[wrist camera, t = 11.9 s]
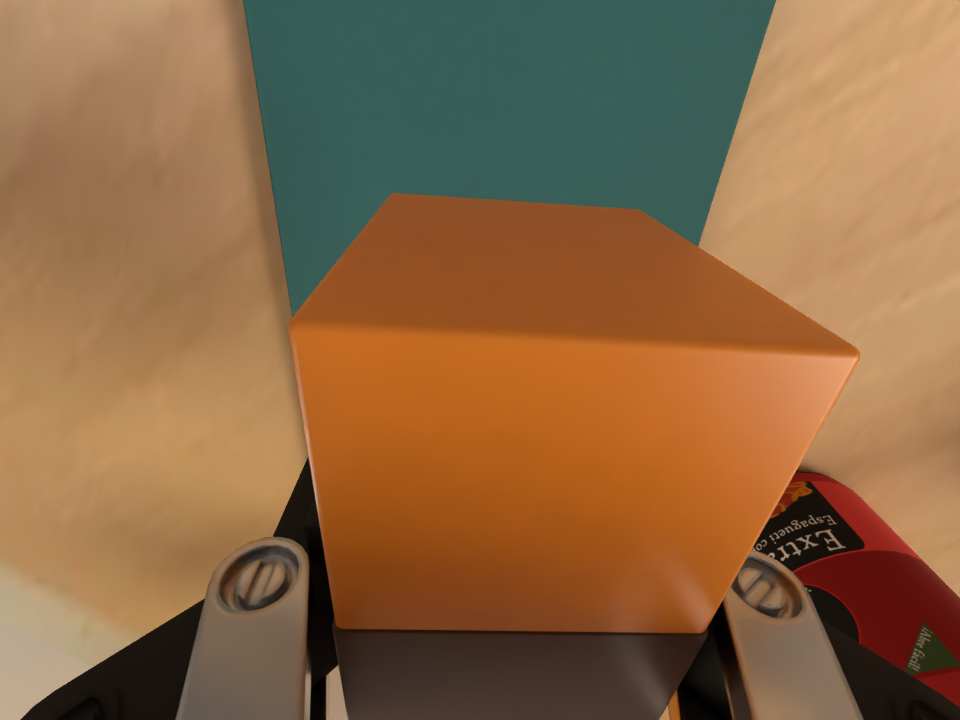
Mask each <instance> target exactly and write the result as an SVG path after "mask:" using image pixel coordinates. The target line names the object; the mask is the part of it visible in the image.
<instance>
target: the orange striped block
mask: <svg viewBox="0 0 960 720" xmlns="http://www.w3.org/2000/svg"><path fill="white" fill-rule="evenodd" d="M288 331H289V337H290V344H291V350H292V356H293V362H294V368H295V375H296V381H297V387H298V393H299V399H300V406H301V412H302V418H303V424H304V430H305V437H306V443H307V449H308V455H309V461H310V468H311V474H312V480H313V486H314V493H315V499H316V505H317V511H318V517H319V524H320V530H321V536H322V542H323V548H324V555H325V561H326V567H327V573H328V579H329V586H330V592H331V598H332V604H333V610H334V621H333V624H332V630H333V636H334V642H335V648H336V654H337V660H338V666H339V672H340V678H341V683H342V689H343V695H344V701H345V707H346V713H347V719H348V720H659V719H660V717H661V716H662V714H663V712H664V710H665V709H666V707H667V705H668V703H669V702H670V700H671V698H672V697H673V695H674V693H675V691H676V690H677V688H678V686H679V684H680V683H681V681H682V679H683V678H684V676H685V674H686V672H687V671H688V669H689V667H690V666H691V664H692V662H693V660H694V659H695V657H696V655H697V653H698V652H699V650H700V648H701V647H702V645H703V643H704V641H705V640H706V638H707V636H708V630H707V627H708V625H709V623H710V622H711V620H712V618H713V616H714V614H715V613H716V611H717V609H718V607H719V606H720V604H721V602H722V600H723V599H724V597H725V595H726V593H727V592H728V590H729V588H730V586H731V585H732V583H733V581H734V579H735V578H736V576H737V574H738V572H739V571H740V569H741V567H742V565H743V564H744V562H745V560H746V558H747V556H748V555H749V553H750V551H751V549H752V548H753V546H754V544H755V542H756V541H757V539H758V537H759V535H760V534H761V532H762V530H763V528H764V527H765V525H766V523H767V521H768V520H769V518H770V516H771V514H772V513H773V511H774V509H775V507H776V506H777V504H778V502H779V500H780V498H781V497H782V495H783V493H784V491H785V490H786V488H787V486H788V484H789V483H790V481H791V479H792V477H793V476H794V474H795V472H796V470H797V469H798V467H799V465H800V463H801V462H802V460H803V458H804V456H805V455H806V453H807V451H808V449H809V448H810V446H811V444H812V442H813V441H814V439H815V437H816V435H817V433H818V432H819V430H820V428H821V426H822V425H823V423H824V421H825V419H826V418H827V416H828V414H829V412H830V411H831V409H832V407H833V405H834V404H835V402H836V400H837V398H838V397H839V395H840V393H841V391H842V390H843V388H844V386H845V384H846V383H847V381H848V379H849V377H850V375H851V374H852V372H853V370H854V368H855V367H856V365H857V363H858V361H859V358H860V352H859V351H858V349H857V348H856V347H854V346H852V345H851V344H849V343H848V342H846V341H845V340H843V339H842V338H840V337H838V336H837V335H835V334H834V333H832V332H831V331H829V330H827V329H826V328H824V327H823V326H821V325H820V324H818V323H816V322H815V321H813V320H812V319H810V318H809V317H807V316H805V315H804V314H802V313H801V312H799V311H798V310H796V309H795V308H793V307H791V306H790V305H788V304H787V303H785V302H784V301H782V300H780V299H779V298H777V297H776V296H774V295H773V294H771V293H769V292H768V291H766V290H765V289H763V288H762V287H760V286H758V285H757V284H755V283H754V282H752V281H751V280H749V279H747V278H746V277H744V276H743V275H741V274H740V273H738V272H737V271H735V270H733V269H732V268H730V267H729V266H727V265H726V264H724V263H722V262H721V261H719V260H718V259H716V258H715V257H713V256H711V255H710V254H708V253H707V252H705V251H704V250H702V249H700V248H699V247H697V246H696V245H694V244H693V243H691V242H689V241H688V240H686V239H685V238H683V237H682V236H680V235H679V234H677V233H675V232H674V231H672V230H671V229H669V228H668V227H666V226H664V225H663V224H661V223H660V222H658V221H657V220H655V219H653V218H652V217H650V216H649V215H647V214H646V213H644V212H642V211H641V210H639V209H625V208H610V207H595V206H580V205H566V204H551V203H536V202H521V201H506V200H491V199H476V198H462V197H447V196H432V195H417V194H402V193H393V194H391V195H390V196H389V197H388V198H387V200H386V201H385V202H384V203H383V205H382V206H381V207H380V208H379V210H378V211H377V212H376V213H375V215H374V216H373V217H372V218H371V220H370V221H369V222H368V223H367V225H366V226H365V227H364V228H363V230H362V231H361V232H360V233H359V235H358V236H357V237H356V238H355V240H354V241H353V242H352V243H351V245H350V246H349V247H348V248H347V250H346V251H345V252H344V253H343V255H342V256H341V257H340V258H339V260H338V261H337V262H336V263H335V265H334V266H333V267H332V268H331V270H330V271H329V272H328V273H327V275H326V276H325V277H324V278H323V280H322V281H321V282H320V283H319V285H318V286H317V287H316V288H315V290H314V291H313V292H312V293H311V295H310V296H309V297H308V298H307V300H306V301H305V302H304V303H303V305H302V306H301V307H300V308H299V310H298V311H297V312H296V313H295V315H294V316H293V317H292V318H291V320H290V323H289V326H288Z"/></svg>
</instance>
